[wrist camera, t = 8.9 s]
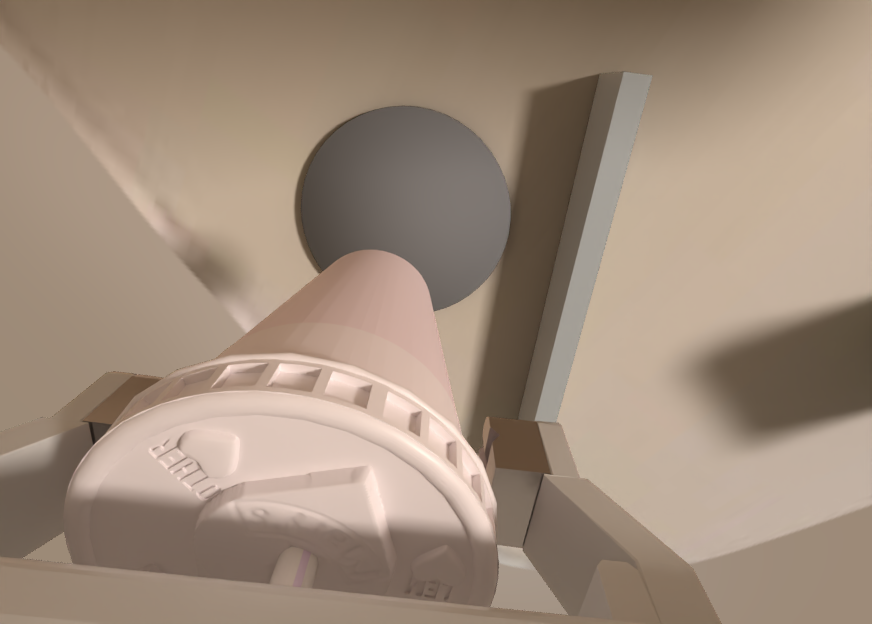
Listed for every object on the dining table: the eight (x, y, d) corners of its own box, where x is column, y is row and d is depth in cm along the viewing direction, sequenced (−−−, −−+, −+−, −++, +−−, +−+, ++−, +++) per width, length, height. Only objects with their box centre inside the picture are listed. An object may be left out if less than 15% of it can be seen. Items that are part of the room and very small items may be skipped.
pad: (304, 91, 24) (302, 91, 23) (528, 121, 24) (530, 122, 24) (302, 298, 28) (300, 301, 28) (490, 321, 29) (491, 325, 28)
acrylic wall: (599, 73, 23) (624, 71, 20) (624, 77, 23) (652, 75, 20) (512, 442, 32) (519, 480, 29) (530, 444, 32) (539, 482, 29)
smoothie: (514, 283, 15) (814, 1194, 3) (402, 417, 18) (285, 1255, 5) (338, 161, 14) (-728, 906, 1) (241, 324, 16) (-490, 1172, 4)
